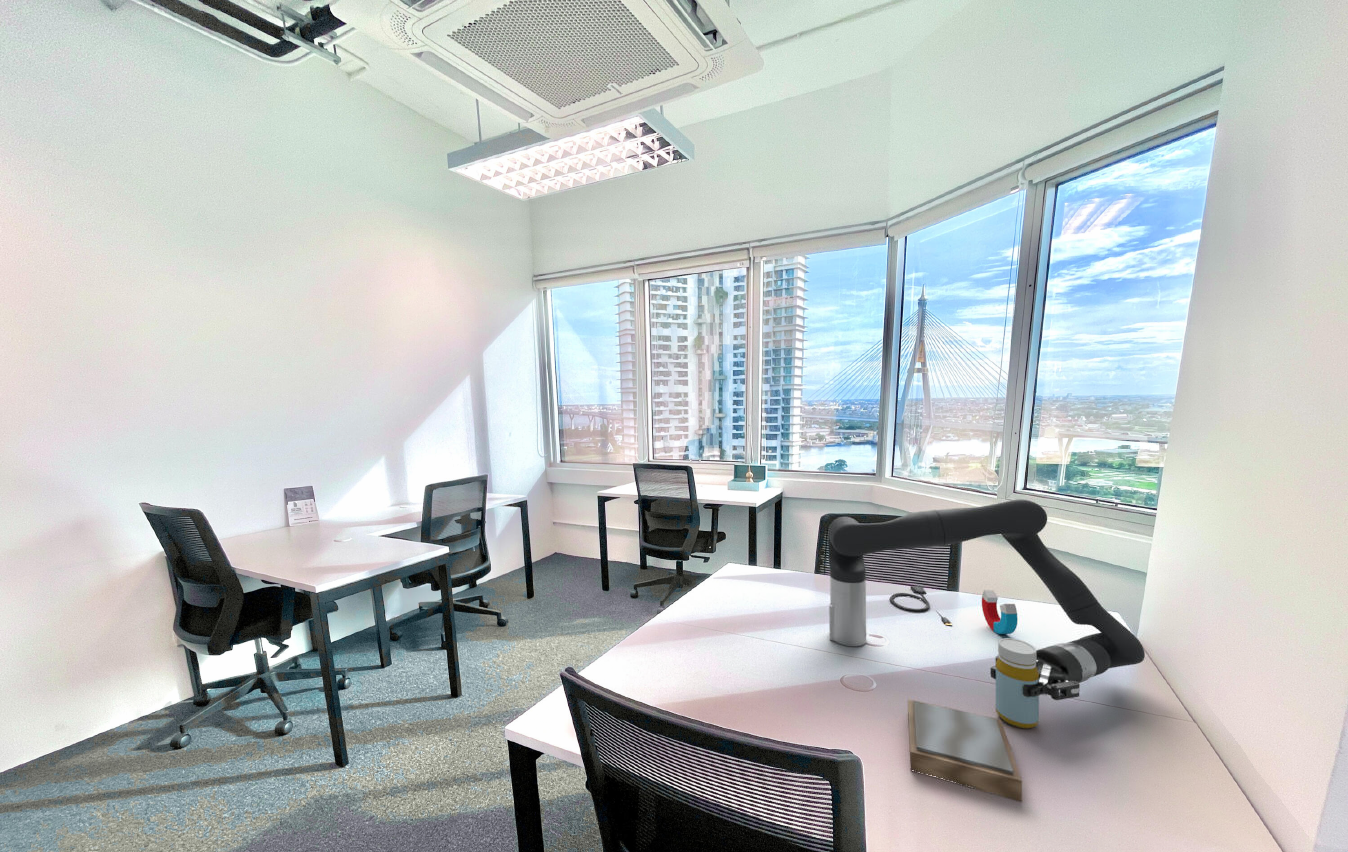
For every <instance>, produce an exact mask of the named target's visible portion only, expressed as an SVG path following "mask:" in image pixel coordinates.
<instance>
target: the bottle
mask: <svg viewBox="0 0 1348 852" xmlns="http://www.w3.org/2000/svg"><path fill="white" fill-rule="evenodd" d="M997 646H998V648H997V649H998V653H997V654H998V655H997V656H998V659H997V661H996V660H995V665H996V679H995V712H996V714H997V715H998V716H999V717H1000V719H1001V720H1003V721H1004V722H1005V723H1007V724H1009V725H1011V726H1014V727H1017V728H1021V729H1033V728H1034V727H1036V726H1037V725H1038V724H1039V719H1040V718H1039V717H1040V716H1039V715H1040V711H1039V709H1040V707H1039V706H1040V702H1039V701H1040V695H1038V696H1035V697H1026V696H1024V695H1023V686H1024V685H1025V684H1026V685H1033V684H1036V683H1038V682H1039V673H1038V670H1037V668H1036V651H1037V649H1036V647H1034V646H1033V645H1032V644H1030V643H1028V642H1027V641H1024V640H1021V639H1016V638H1009V637H1008V638H1007V637H1006V638H1001V639H999V640H998V644H997Z"/></svg>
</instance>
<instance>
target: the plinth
mask: <svg viewBox="0 0 1348 852" xmlns="http://www.w3.org/2000/svg"><path fill="white" fill-rule="evenodd" d="M907 721H908V722H907V723H908V726H907V727H908V745H909V762H910V767H911V768H910V771H911V770H914V771H916V772H920V773H923V774H928V775H932V776H936V777H938V778H943V779H945V780H949V781H953V782H956V783H959V784H962V785H961V786H963V785H967V786H970V787H973V788H972V789H974V788H976V789H975V790H977V789H979V790H978V791H981V790H982V792H985V791H986V793H988V792H990V793H989V794H992V793H993V795H995V794H997V795H996V796H999V795H1001V796H1000V797H1003V796H1004V797H1003V798H1006V797H1007V799H1010V800H1013V801H1019V802H1021V803H1022V802H1023V796H1022V795H1023V780H1022V777H1021V775H1020V771H1019V768H1018V765H1017V762H1016V759H1015V757H1014V753H1013V750H1012V747H1011V744H1010V742H1009V739H1008V735H1007V733H1006V729H1005V727H1004V724H1003V721H1002V718H996V717H991V716H987V715H981V714H977V713H973V712H968V711H964V710H959V709H954V708H950V707H946V706H940V705H936V704H931V703H927V702H923V701H918V700H913V699H907ZM916 772H915V773H916ZM920 773H919V774H920ZM923 774H922V775H923ZM938 778H937V779H938ZM945 780H944V781H945ZM949 781H948V782H949ZM956 783H955V784H956ZM959 784H958V785H959ZM967 786H966V787H967ZM970 787H969V788H970Z"/></svg>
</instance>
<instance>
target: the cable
mask: <svg viewBox="0 0 1348 852" xmlns="http://www.w3.org/2000/svg"><path fill="white" fill-rule="evenodd" d="M911 589H912V590H911ZM910 590H911V591H912V592H913V593H914V594H912V593H907V592H898V593H893V594H892V595H890V597H889V601H890V603H891V604H892V605H894V606H895V607H897V608H898V609H901V610H905V611H908V612H912V613H923V612H924V613H925V612H926V611H928V610H929V609H930V602H929V601H928V599H927V598H926V597H925V595H924V594H926V595H927V592H926V591H925V588H924V586H920V585H919V586H918V585H917V586H916V585H910ZM898 596H900V597H907V596H910V597H909V598H912V597H914V598H913V599H916V598H917V599H916V600H918V599H921V600H922V601H923V604H924V605H925V604H926V605H925V606H924V607H921V608H911V607H907V606H904V605H900V604H898V603H897V602H896V601H895V599H896V598H899V597H898ZM895 597H896V598H895ZM921 600H920V601H921ZM922 601H921V602H922ZM935 612H936V613H937V614H938V615H939V617H940V618H941V622H942V623H943V625H945V626H946V627H953V624H952V622H951V621H950V620H949V619H948V618H947V617H946V616H945V617H944V616H942V615H941V613H939V612H938V611H937V610H936V611H935Z"/></svg>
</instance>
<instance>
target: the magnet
mask: <svg viewBox="0 0 1348 852" xmlns="http://www.w3.org/2000/svg"><path fill="white" fill-rule="evenodd" d="M998 599H999V597H998V595H997V594H996V592H995V590H993V589H984V590H983V592H982V595H981V608H982V613H983V617H984V620H985V622H986V623H987V625H988V626H989V628H990V629H991V630H992V631H993V632H994V633H996V634H1000V635H1011V634H1013V633H1014V632H1015V631H1016V629H1017V626H1018V621H1019V619H1018V612H1017V611H1018V610H1017V607H1016V604H1015V603H1003V604H1000V605H999V609H1000V615H999V611H998V606H997V605H998Z"/></svg>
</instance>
